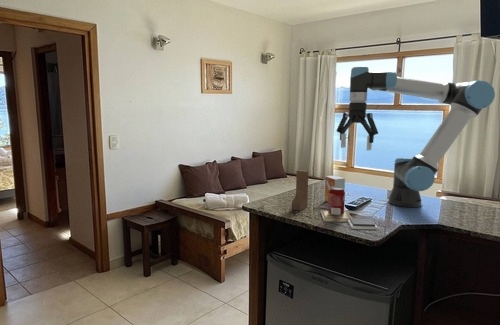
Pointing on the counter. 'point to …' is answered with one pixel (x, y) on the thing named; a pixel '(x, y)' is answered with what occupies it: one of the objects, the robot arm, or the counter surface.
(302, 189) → the wooden block
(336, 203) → the soda can
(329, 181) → the small box
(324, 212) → the board
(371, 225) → the pad
